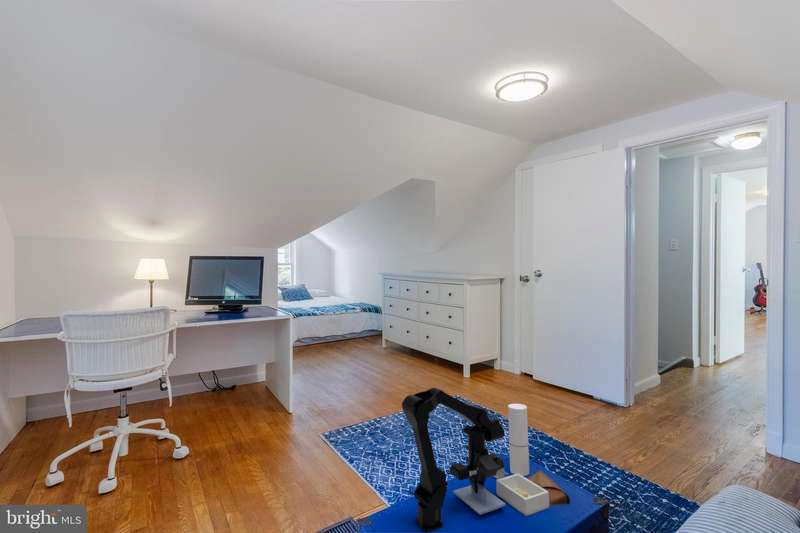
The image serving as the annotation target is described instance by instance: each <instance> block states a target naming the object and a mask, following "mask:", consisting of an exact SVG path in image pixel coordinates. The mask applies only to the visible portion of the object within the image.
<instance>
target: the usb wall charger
mask: <svg viewBox="0 0 800 533" xmlns="http://www.w3.org/2000/svg"><path fill="white" fill-rule="evenodd" d="M505 475H506V476H508V475H509V473H508V472H506V471H505V467H504V468H502V469H501V470H498V471H497V475H496V476H492V477H493V478H495V479H496V480H498V479H502V478H505V477H506V476H505Z"/></svg>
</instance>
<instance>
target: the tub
mask: <svg viewBox="0 0 800 533" xmlns="http://www.w3.org/2000/svg"><path fill="white" fill-rule="evenodd" d="M495 484H496V485H495V486H496V495H497V496H498V497H500V499H502V501H504V502H506V503H507V504H509V505H510V506H511V507H513V508H514V509H515V510H517V511H518V512H520V513H521V514H523V515H524V516H525V517H528V516H531V515H533V514H536V513H539V512H541V511H544V510H548V509H550V506H549V492H548V491H546V490H545V489H543V488H541V487H540V486H538V485H536V484H535V483H533V482H531V481H530V480H528V479H527V478H526V477H525V476H522V475H520V474H511V475H507V476H505V477H502V478H500V479H496V483H495Z"/></svg>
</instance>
